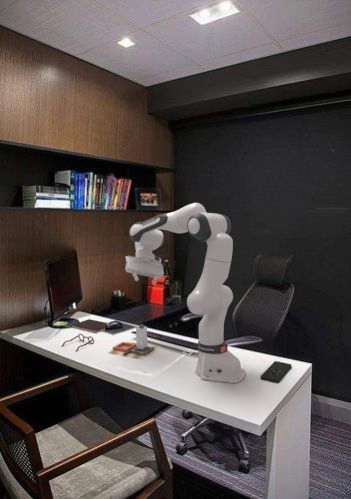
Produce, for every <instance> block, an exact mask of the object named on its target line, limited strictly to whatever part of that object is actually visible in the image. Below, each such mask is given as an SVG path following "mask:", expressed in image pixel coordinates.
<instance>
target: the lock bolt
mask: <svg viewBox="0 0 351 499" xmlns="http://www.w3.org/2000/svg"><path fill="white" fill-rule="evenodd" d="M135 334H136V337H135V338H136V339H135V340H136V342H135V343H137V351H142V352H145V351H146V350H148V348H147V345H148V327H147V326H146V325H144V324H139V325H138V326H137V327H136V328H135Z"/></svg>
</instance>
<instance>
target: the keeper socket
mask: <svg viewBox="0 0 351 499" xmlns="http://www.w3.org/2000/svg"><path fill="white" fill-rule="evenodd" d="M132 343H133V342H131V343H126V341H122V342H120V343H117V344H116V345H115V346H112V350H116V351H121V352H127V351H128V350H130V349H132V348H133V347H135V346H136V344H132ZM122 346H128V348H126V349H125V348H120V347H122Z"/></svg>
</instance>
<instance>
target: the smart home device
mask: <svg viewBox="0 0 351 499" xmlns="http://www.w3.org/2000/svg"><path fill="white" fill-rule="evenodd" d="M291 369H292V364H291V363H288V362H282V361H277V360H274V361H273V363H272V364H270V365H269V367H268V368H267V369H266V370H265V371H264V372H263V373H261V375H260V377H259V378H260V380H262V381H266V382H270V383H274V384H280V382H281V381H282V379H283V378H284V377H285V376H286V374H288V373H289V371H290V370H291Z"/></svg>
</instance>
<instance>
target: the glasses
mask: <svg viewBox="0 0 351 499" xmlns="http://www.w3.org/2000/svg"><path fill="white" fill-rule="evenodd" d="M80 335H81V336H82V339H81V337H80ZM77 338H78V339H79V341H81V342H84V341H85V339H87V342H86V343H84V344H81V345H79V346H78V347H77V348H76V349H75V353H77V352H79V351H78V350H79V349H80V348H81V347H85V346H87V345H88V344H91V345H94V344H95V340H94V338H93V336H89V335H88V336H84V334H82V333H79V334H77V335H76V336H75V337H73V338H71V339H69V340H65V341H64V342H63V343H62V345H61V348H62V347H64V345H65V344H66V343H67V342H71V341H74V340H76V339H77Z"/></svg>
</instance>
